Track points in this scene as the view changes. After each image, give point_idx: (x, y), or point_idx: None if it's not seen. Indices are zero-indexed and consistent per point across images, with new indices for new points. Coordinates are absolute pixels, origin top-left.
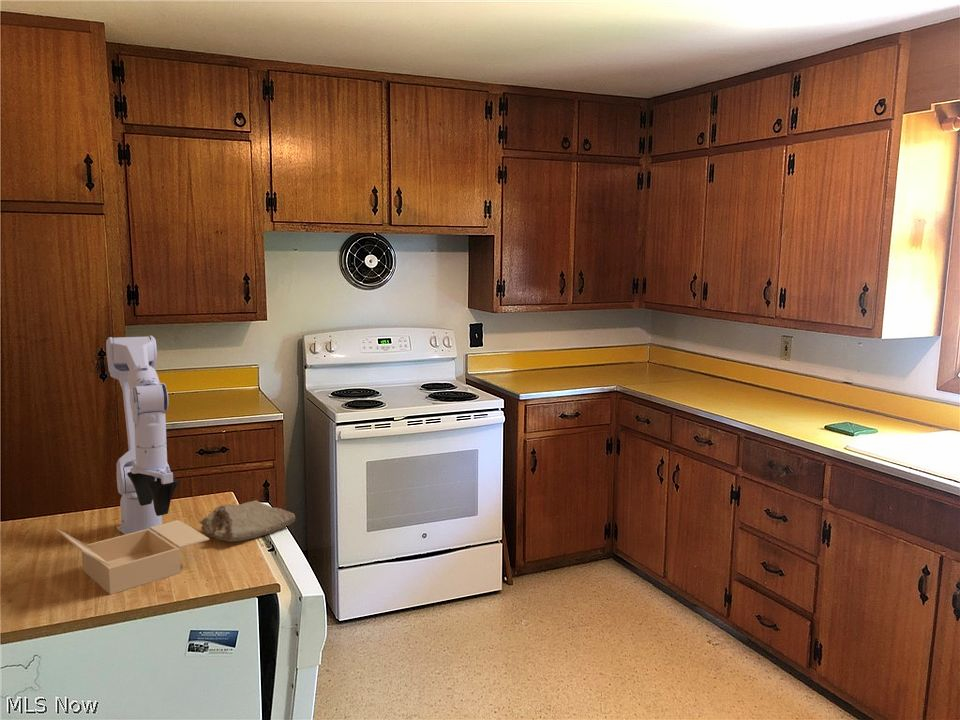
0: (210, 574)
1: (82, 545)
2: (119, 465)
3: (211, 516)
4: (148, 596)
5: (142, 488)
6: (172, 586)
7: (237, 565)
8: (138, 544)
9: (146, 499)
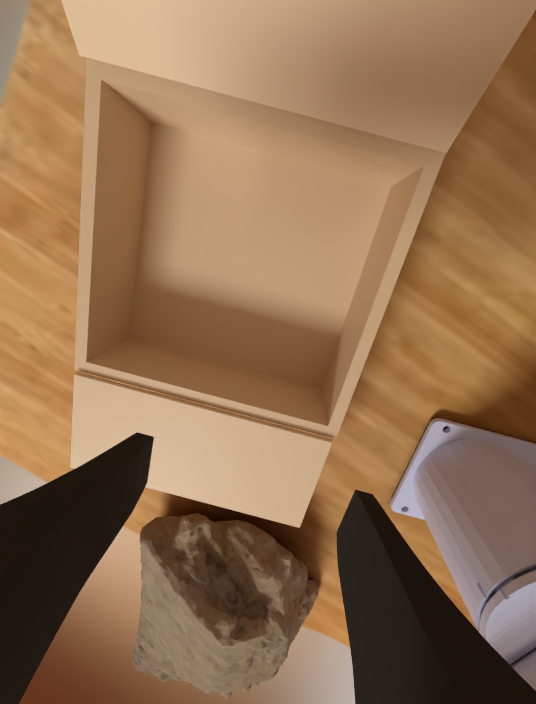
0: (58, 374)
1: (302, 2)
2: None
3: (262, 589)
4: (49, 182)
5: (385, 620)
6: (62, 269)
7: (58, 441)
8: (334, 371)
9: (350, 542)
